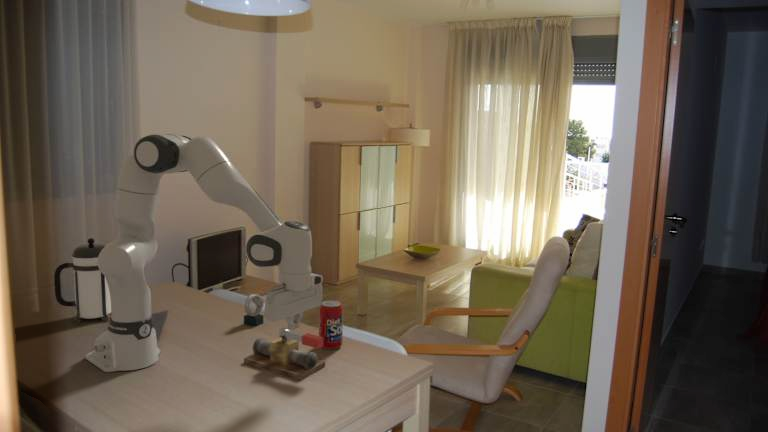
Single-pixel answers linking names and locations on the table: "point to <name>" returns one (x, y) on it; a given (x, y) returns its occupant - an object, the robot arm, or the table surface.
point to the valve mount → (284, 358)
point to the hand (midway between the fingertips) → (293, 328)
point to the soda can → (331, 324)
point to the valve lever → (302, 337)
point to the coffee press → (86, 283)
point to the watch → (255, 317)
